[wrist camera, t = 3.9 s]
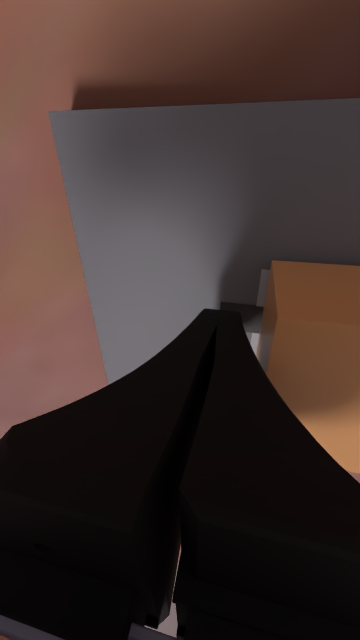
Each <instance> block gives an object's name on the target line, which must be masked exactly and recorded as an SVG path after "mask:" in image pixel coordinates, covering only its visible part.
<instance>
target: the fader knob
mask: <svg viewBox="0 0 360 640" xmlns="http://www.w3.org/2000/svg"><path fill="white" fill-rule="evenodd" d="M256 357H257V359H258V361H259V363H260V365H261V366H262V368H263V370H264V372H265V373H266V375H267V377H268V378H269V380H270V381H271V383H272V385H273V386H274V387H275V389H276V390H277V392H278V393H279V395H280V396H281V398H282V399H283V400H284V402H285V403H286V404H287V406H288V407H289V408H290V410H291V411H292V412H293V413H294V415H295V416H296V417H297V418H298V419H299V420H300V422H301V423H302V424H303V425H304V426H305V428H306V429H307V430H308V431H309V432H310V433H311V435H312V436H313V437H314V438H315V439H316V441H317V442H318V443H319V444H320V445H321V446H322V447H323V448H324V449H325V450H326V451H327V452H328V453H329V454H330V455H331V456H332V457H333V459H334V460H335V461H336V462H337V463H338V464H339V465H340V466H342V467H343V468H344V469H345V470H346V471H350V472H355V473H360V266H353V265H338V264H323V263H307V262H292V261H277V260H272V262H271V268H270V274H269V280H268V286H267V292H266V298H265V304H264V309H263V315H262V321H261V327H260V333H259V339H258V345H257V351H256Z"/></svg>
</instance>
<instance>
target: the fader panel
mask: <svg viewBox="0 0 360 640" xmlns="http://www.w3.org/2000/svg"><path fill="white" fill-rule="evenodd" d="M48 113H49V118H50V122H51V127H52V131H53V136H54V140H55V145H56V149H57V154H58V158H59V163H60V167H61V172H62V176H63V181H64V185H65V190H66V194H67V199H68V204H69V208H70V213H71V217H72V222H73V226H74V231H75V235H76V240H77V244H78V249H79V253H80V258H81V262H82V267H83V271H84V276H85V280H86V285H87V289H88V294H89V299H90V303H91V308H92V312H93V317H94V321H95V326H96V330H97V335H98V339H99V344H100V348H101V353H102V357H103V362H104V366H105V371H106V375H107V380H108V384H111V383H113V382H115V381H116V380H118V379H120V378H122V377H123V376H125V375H127V374H129V373H130V372H132V371H133V370H135V369H136V368H138V367H139V366H141V365H142V364H144V363H145V362H147V361H148V360H149V359H151V358H152V357H153V356H155V355H156V354H157V353H158V352H160V351H161V350H162V349H163V348H164V347H166V346H167V345H168V344H169V343H170V342H171V341H173V340H174V339H175V338H176V337H177V336H178V335H179V334H180V333H181V332H182V331H183V330H184V329H185V328H186V327H187V326H188V325H189V324H190V323H191V322H192V321H193V320H194V319H195V318H196V317H197V315H198V314H199V313H200V312H201V311H202V310H203V309H205V308H207V309H217V310H226V311H236V312H239V313H240V314H241V315H242V322H243V326H244V329H245V332H246V335H247V337H248V340H249V342H250V344H251V346H252V349H253V351H254V353H255V355H256V351H257V345H258V339H259V333H260V327H261V321H262V315H263V309H264V304H265V298H266V292H267V286H268V280H269V274H270V268H271V262H272V260H277V261H292V262H307V263H323V264H338V265H353V266H360V98H344V99H320V100H297V101H274V102H251V103H228V104H205V105H182V106H159V107H136V108H113V109H90V110H67V111H48Z"/></svg>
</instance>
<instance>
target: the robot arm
mask: <svg viewBox="0 0 360 640" xmlns="http://www.w3.org/2000/svg"><path fill="white" fill-rule="evenodd" d="M180 545H181V555H180V560H179V566H178V571H177V576H176V569H177V563H178V557H179V551H180ZM175 576H176V582H175ZM174 582H175V587H174ZM173 588H174V592H173ZM172 594H173V599H172ZM171 601H173V603H175V604H176V612H177V621H178V628H177V638H175V637H172V636H169V635H166V634H163V633H161V632H158V631H155V630H152V629H149V628H146V627H144V625H146V626H149V627H151V628H154V629H157V628H158V625H159V624H160V623H161V622H163V621H164V620H165V619H166V618H167V617H168V616H169V613H170V607H171ZM0 635H1V636H3V637H6V638H8V639H11V640H360V483H359V482H358V481H356V480H355V479H354V478H353V477H352V476H351V475H350V474H349V473H348V472H347V471H346V470H345V469H344V468H343V467H342V466H340V465H339V464H338V463H337V462H336V461H335V460H334V459H333V457H332V456H331V455H330V454H329V453H328V452H327V451H326V450H325V449H324V448H323V447H322V446H321V445H320V444H319V443H318V442H317V441H316V439H315V438H314V437H313V436H312V435H311V433H310V432H309V431H308V430H307V429H306V428H305V426H304V425H303V424H302V423H301V422H300V420H299V419H298V418H297V417H296V416H295V415H294V413H293V412H292V411H291V410H290V408H289V407H288V406H287V404H286V403H285V402H284V400H283V399H282V398H281V396H280V395H279V393H278V392H277V390H276V389H275V387H274V386H273V385H272V383H271V381H270V380H269V378H268V377H267V375H266V373H265V372H264V370H263V368H262V366H261V365H260V363H259V361H258V359H257V357H256V355H255V353H254V351H253V349H252V346H251V344H250V342H249V340H248V337H247V335H246V332H245V329H244V326H243V322H242V315H241V314H240V313H239V312H236V311H226V310H217V309H207V308H205V309H203V310H202V311H201V312H200V313H199V314H198V315H197V317H196V318H195V319H194V320H193V321H192V322H191V323H190V324H189V325H188V326H187V327H186V328H185V329H184V330H183V331H182V332H181V333H180V334H179V335H178V336H177V337H176V338H175V339H174V340H173V341H171V342H170V343H169V344H168V345H167V346H166V347H164V348H163V349H162V350H161V351H160V352H158V353H157V354H156V355H155V356H153V357H152V358H151V359H149V360H148V361H147V362H145V363H144V364H142V365H141V366H139V367H138V368H136V369H135V370H133V371H132V372H130V373H129V374H127V375H125V376H123V377H122V378H120V379H118V380H116V381H115V382H113V383H111V384H109V385H108V386H106V387H104V388H102V389H100V390H98V391H96V392H94V393H92V394H90V395H88V396H86V397H84V398H81V399H79V400H77V401H75V402H73V403H71V404H68V405H66V406H64V407H61V408H59V409H56V410H54V411H51V412H48V413H46V414H43V415H41V416H38V417H36V418H33V419H30V420H28V421H25V422H23V423H20V424H17V425H14V426H12V427H11V428H10V429H9V430H8V432H7V433H6V434H5V435H4V436H3V437H2V438H1V439H0Z"/></svg>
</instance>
